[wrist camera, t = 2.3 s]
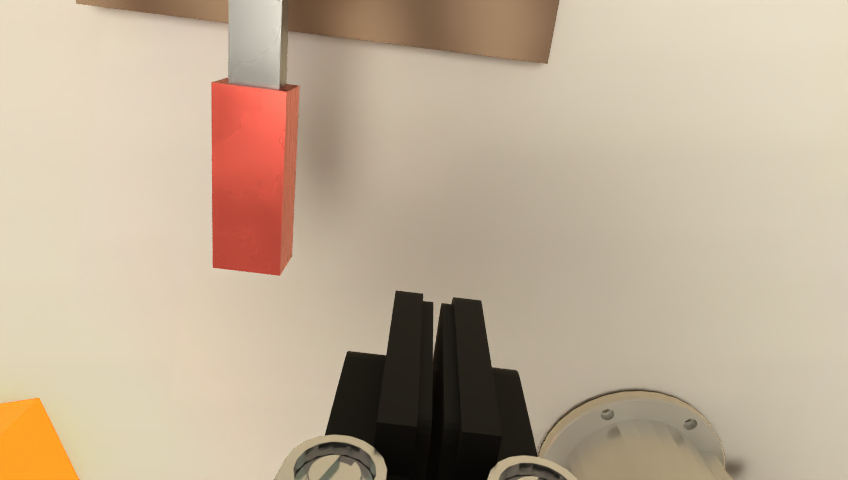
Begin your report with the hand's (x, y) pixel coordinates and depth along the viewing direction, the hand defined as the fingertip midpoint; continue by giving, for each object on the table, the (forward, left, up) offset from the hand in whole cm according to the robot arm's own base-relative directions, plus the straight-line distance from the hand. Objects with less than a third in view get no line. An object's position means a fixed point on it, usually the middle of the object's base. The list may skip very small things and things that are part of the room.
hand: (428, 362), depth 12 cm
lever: (+7, -4, -13) cm, 15 cm away
